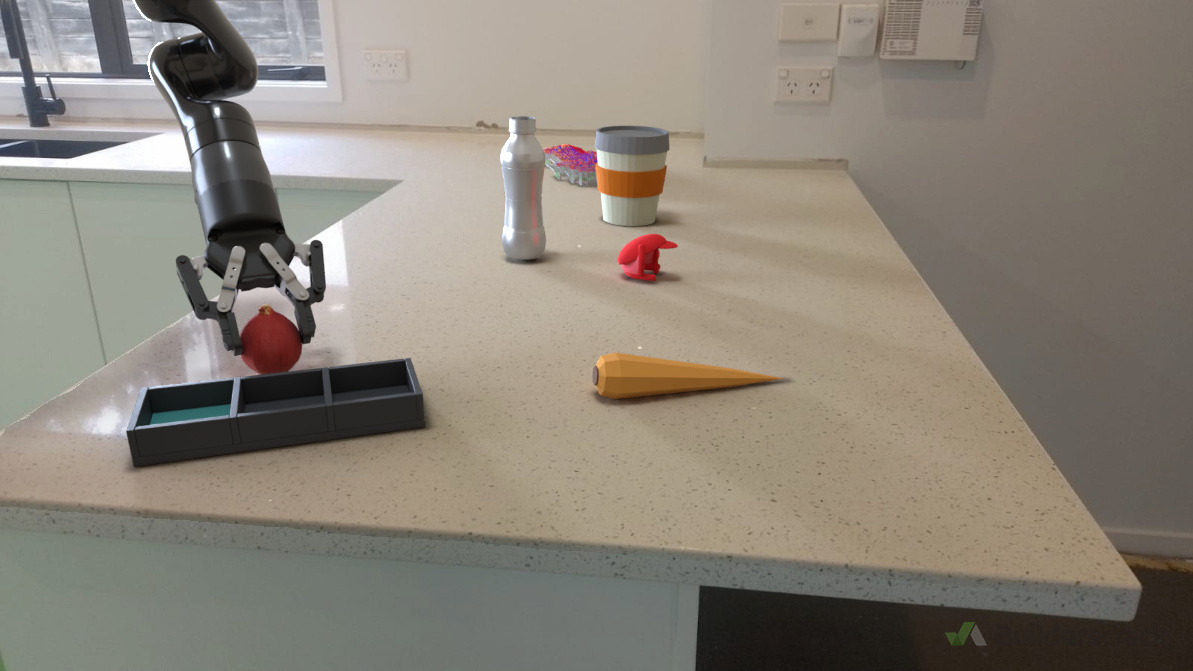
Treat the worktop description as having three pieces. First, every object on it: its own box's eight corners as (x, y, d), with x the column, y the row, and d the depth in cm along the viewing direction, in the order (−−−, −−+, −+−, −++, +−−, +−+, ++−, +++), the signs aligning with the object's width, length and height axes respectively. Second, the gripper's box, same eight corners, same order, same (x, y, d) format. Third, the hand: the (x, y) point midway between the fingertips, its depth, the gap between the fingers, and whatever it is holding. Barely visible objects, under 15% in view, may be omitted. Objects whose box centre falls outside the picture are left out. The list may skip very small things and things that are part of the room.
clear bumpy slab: (532, 160, 192) (531, 137, 190) (595, 158, 196) (596, 135, 194) (560, 188, 165) (560, 162, 163) (633, 186, 169) (634, 160, 167)
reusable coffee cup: (680, 219, 145) (685, 131, 139) (633, 233, 136) (637, 139, 131) (624, 206, 153) (628, 123, 147) (577, 218, 144) (579, 130, 138)
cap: (622, 285, 112) (624, 241, 110) (613, 271, 118) (615, 229, 115) (680, 283, 114) (682, 240, 111) (668, 269, 119) (671, 228, 117)
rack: (133, 467, 68) (125, 431, 67) (147, 420, 75) (140, 387, 74) (424, 426, 75) (422, 393, 74) (412, 388, 82) (410, 357, 81)
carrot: (593, 408, 81) (603, 376, 77) (586, 374, 84) (595, 342, 81) (783, 409, 86) (799, 380, 82) (770, 377, 89) (785, 347, 86)
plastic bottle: (504, 265, 119) (501, 121, 111) (499, 252, 125) (496, 114, 118) (549, 263, 120) (549, 121, 113) (542, 250, 126) (542, 114, 119)
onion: (245, 370, 85) (233, 296, 82) (304, 363, 87) (295, 291, 84) (243, 395, 80) (231, 317, 77) (307, 387, 82) (297, 310, 79)
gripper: (155, 183, 79) (190, 344, 74) (312, 170, 86) (353, 317, 81) (160, 224, 85) (193, 375, 80) (306, 210, 92) (344, 348, 87)
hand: (273, 345), depth 80 cm, fingers closed on onion, 5 cm apart
